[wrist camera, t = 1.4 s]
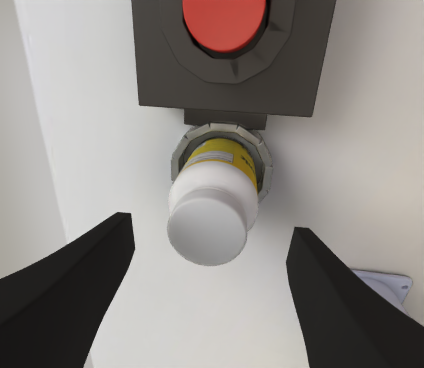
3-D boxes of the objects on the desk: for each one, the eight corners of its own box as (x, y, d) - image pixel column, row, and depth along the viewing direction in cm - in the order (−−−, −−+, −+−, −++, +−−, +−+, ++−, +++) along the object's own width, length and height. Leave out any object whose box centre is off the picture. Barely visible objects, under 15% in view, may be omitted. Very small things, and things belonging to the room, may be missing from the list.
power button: (258, 54, 13) (260, 52, 12) (189, 51, 13) (182, 49, 12) (268, -34, 12) (271, -50, 10) (190, -35, 12) (181, -51, 10)
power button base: (301, 109, 19) (320, 124, 14) (155, 99, 20) (125, 110, 15) (335, -72, 14) (380, -145, 10) (148, -72, 16) (102, -138, 11)
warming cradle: (263, 211, 23) (264, 222, 21) (177, 202, 23) (171, 212, 22) (279, 106, 19) (282, 110, 17) (176, 99, 20) (169, 102, 18)
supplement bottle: (255, 195, 22) (260, 280, 13) (193, 195, 23) (159, 276, 14) (255, 132, 20) (261, 185, 11) (187, 135, 21) (142, 186, 12)
